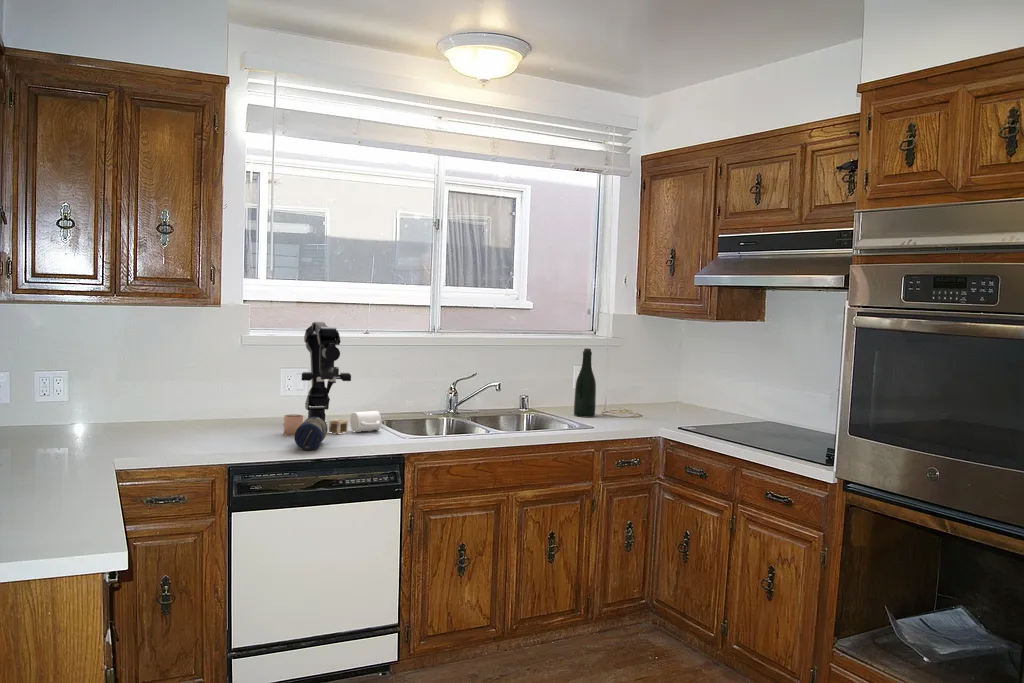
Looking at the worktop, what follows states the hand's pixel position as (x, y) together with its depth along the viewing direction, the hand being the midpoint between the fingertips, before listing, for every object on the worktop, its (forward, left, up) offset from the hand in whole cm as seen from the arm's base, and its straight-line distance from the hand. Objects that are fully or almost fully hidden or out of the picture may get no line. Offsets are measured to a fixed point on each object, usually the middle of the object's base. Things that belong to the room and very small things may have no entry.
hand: (325, 398), depth 300 cm
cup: (-5, -12, -13) cm, 18 cm away
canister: (+12, -18, -8) cm, 23 cm away
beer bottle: (+61, +115, -13) cm, 131 cm away
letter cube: (+6, +1, -13) cm, 14 cm away
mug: (+13, +10, -13) cm, 21 cm away
